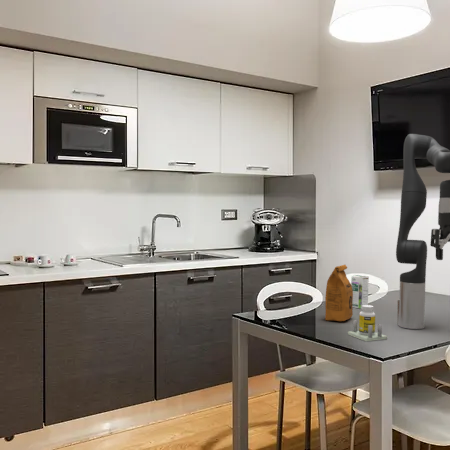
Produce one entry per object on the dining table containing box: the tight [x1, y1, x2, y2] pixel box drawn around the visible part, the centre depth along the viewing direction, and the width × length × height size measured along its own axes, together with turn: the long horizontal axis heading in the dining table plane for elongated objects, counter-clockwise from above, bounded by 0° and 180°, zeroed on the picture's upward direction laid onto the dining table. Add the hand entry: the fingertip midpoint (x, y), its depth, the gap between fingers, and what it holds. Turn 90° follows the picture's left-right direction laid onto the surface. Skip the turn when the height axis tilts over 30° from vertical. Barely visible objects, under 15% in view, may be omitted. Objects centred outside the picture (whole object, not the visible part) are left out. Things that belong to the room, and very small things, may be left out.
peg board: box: [347, 319, 388, 342], centre depth 178 cm, size 10×9×5 cm
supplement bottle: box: [358, 304, 376, 335], centre depth 179 cm, size 5×5×10 cm
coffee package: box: [324, 264, 354, 322], centre depth 206 cm, size 10×12×22 cm
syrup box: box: [350, 274, 369, 310], centre depth 233 cm, size 6×6×14 cm
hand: (449, 259), depth 172 cm, fingers open, 8 cm apart
